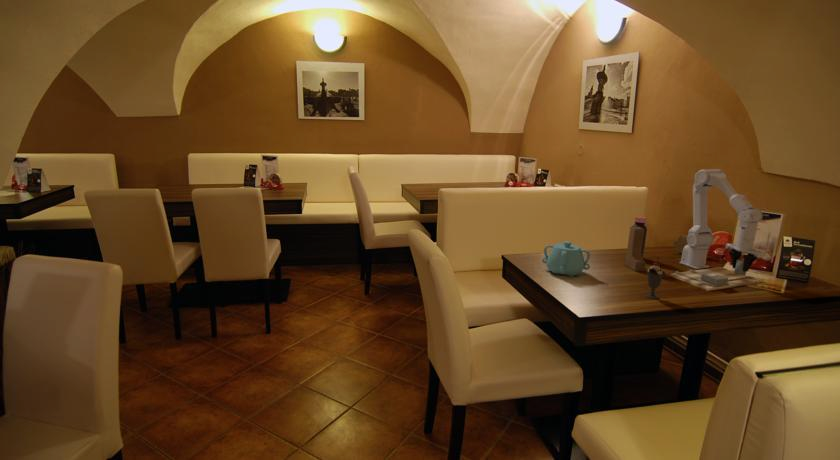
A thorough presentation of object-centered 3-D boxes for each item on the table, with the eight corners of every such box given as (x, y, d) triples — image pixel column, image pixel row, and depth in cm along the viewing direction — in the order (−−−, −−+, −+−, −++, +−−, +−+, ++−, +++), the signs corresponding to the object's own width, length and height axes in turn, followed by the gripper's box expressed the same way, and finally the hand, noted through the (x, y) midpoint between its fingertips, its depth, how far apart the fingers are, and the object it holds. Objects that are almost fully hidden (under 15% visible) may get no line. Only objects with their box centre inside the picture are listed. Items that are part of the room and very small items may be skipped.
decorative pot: (572, 265, 217) (575, 236, 214) (592, 277, 202) (595, 246, 199) (538, 267, 214) (541, 237, 211) (556, 279, 199) (559, 247, 195)
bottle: (628, 259, 228) (633, 218, 223) (626, 255, 235) (632, 215, 230) (643, 260, 226) (649, 219, 221) (641, 256, 233) (647, 216, 228)
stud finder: (700, 280, 197) (701, 272, 196) (711, 279, 199) (712, 271, 198) (716, 286, 191) (717, 278, 190) (726, 285, 193) (728, 276, 192)
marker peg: (731, 272, 202) (734, 258, 200) (739, 271, 203) (742, 258, 201) (740, 275, 198) (742, 261, 196) (748, 274, 199) (751, 260, 197)
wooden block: (644, 271, 211) (650, 231, 207) (635, 271, 211) (640, 231, 206) (634, 264, 220) (639, 226, 215) (624, 265, 220) (629, 226, 215)
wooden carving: (708, 257, 235) (711, 237, 232) (707, 259, 231) (710, 239, 229) (670, 250, 244) (673, 231, 241) (669, 253, 240) (672, 233, 238)
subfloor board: (670, 275, 206) (671, 272, 206) (720, 269, 217) (721, 265, 216) (708, 290, 190) (708, 286, 189) (760, 282, 200) (761, 278, 200)
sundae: (655, 293, 186) (661, 256, 182) (665, 300, 179) (671, 262, 175) (639, 293, 185) (644, 256, 182) (647, 300, 179) (653, 261, 175)
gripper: (722, 234, 202) (717, 265, 205) (757, 243, 189) (750, 276, 192) (734, 233, 204) (729, 263, 207) (769, 241, 191) (762, 274, 194)
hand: (740, 269), depth 200 cm, fingers closed on marker peg, 4 cm apart
